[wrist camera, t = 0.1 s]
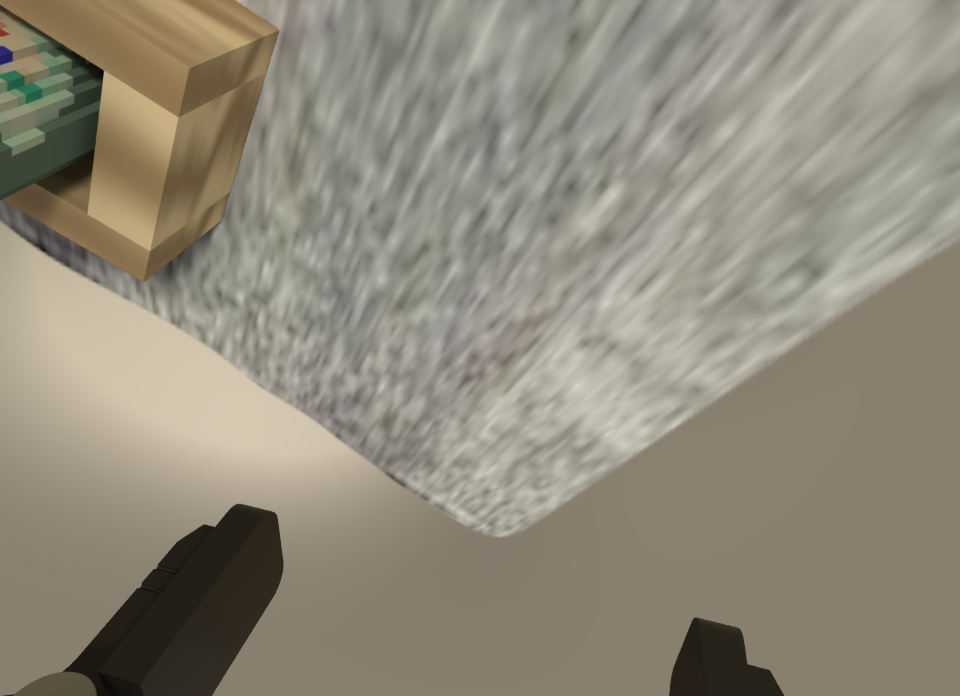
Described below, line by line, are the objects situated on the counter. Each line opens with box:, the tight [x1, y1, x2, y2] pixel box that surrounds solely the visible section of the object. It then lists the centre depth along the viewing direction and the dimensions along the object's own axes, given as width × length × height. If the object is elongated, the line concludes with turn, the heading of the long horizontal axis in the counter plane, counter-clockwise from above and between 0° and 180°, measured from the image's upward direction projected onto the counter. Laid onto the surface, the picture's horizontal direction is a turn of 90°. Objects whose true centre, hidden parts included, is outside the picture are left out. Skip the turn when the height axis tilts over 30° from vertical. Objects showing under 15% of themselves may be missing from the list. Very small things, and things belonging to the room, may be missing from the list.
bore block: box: [0, 0, 279, 282], centre depth 29 cm, size 12×14×7 cm
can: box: [0, 5, 104, 200], centre depth 26 cm, size 6×6×15 cm
